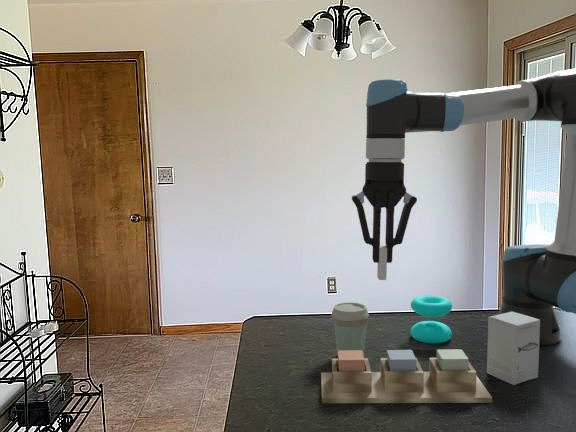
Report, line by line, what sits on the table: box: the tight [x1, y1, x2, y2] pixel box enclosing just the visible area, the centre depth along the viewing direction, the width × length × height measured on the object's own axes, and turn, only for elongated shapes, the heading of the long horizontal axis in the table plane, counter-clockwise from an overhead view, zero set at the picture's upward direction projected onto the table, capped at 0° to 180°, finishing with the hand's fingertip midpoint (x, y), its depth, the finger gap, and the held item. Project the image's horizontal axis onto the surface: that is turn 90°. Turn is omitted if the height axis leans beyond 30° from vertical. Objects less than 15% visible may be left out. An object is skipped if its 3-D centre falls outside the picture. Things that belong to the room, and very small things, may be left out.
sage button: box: [436, 348, 470, 371], centre depth 109 cm, size 5×5×4 cm
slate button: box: [386, 349, 417, 371], centre depth 109 cm, size 5×5×4 cm
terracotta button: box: [337, 350, 365, 372], centre depth 110 cm, size 5×5×4 cm
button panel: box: [320, 357, 493, 404], centre depth 110 cm, size 32×12×5 cm, turn 87°
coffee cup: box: [331, 301, 370, 355], centre depth 126 cm, size 8×8×12 cm
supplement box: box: [486, 312, 540, 386], centre depth 114 cm, size 7×7×13 cm
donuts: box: [410, 295, 453, 344], centre depth 137 cm, size 10×10×10 cm
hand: (381, 278), depth 110 cm, fingers closed
